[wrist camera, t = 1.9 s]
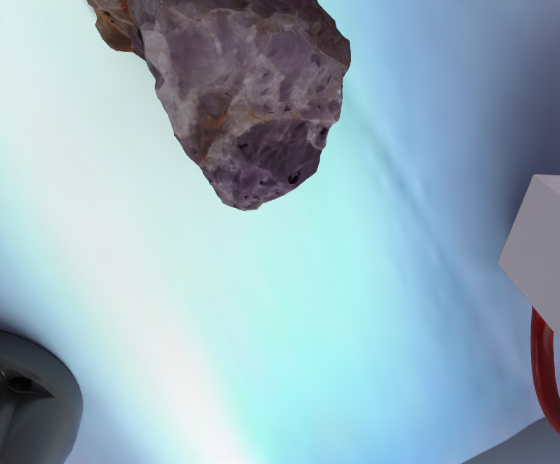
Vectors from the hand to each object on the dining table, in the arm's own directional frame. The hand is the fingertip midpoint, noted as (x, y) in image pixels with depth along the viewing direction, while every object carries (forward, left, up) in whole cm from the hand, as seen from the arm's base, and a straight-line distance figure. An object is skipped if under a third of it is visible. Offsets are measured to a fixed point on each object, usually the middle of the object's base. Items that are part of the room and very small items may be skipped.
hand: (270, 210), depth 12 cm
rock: (0, 0, -17) cm, 17 cm away
